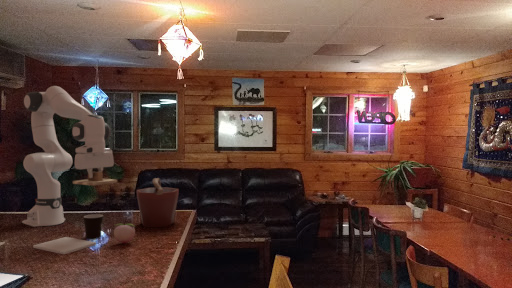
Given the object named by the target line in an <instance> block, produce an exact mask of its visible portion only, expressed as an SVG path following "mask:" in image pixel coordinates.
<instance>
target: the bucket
mask: <svg viewBox="0 0 512 288" xmlns="http://www.w3.org/2000/svg"><path fill="white" fill-rule="evenodd" d="M152 184H153V186H154V187H145V188H139V189H136V198H137V204H138V209H139V214H140V219H141V223H142V226H143V227H148V228H162V227H168V225H170V226H172V224H173V223H174V221H175V215H176V209H177V205H178V199H179V194H180V193H179V188H175V187H174V188H173V187H162V182H161V178H159V177H157V178H156V177H155V178H153V179H152Z"/></svg>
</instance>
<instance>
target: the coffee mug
mask: <svg viewBox="0 0 512 288" xmlns="http://www.w3.org/2000/svg"><path fill="white" fill-rule="evenodd" d="M103 219H104V215H103V214H100V213H99V214H96V213H95V214H87V215H84V216H83V223H84V231H85V232H84V233H85V238H86V239H89V240H92V239H93V240H95V239H99V238H101V237H102V236H101V235H102V228H103Z"/></svg>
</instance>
